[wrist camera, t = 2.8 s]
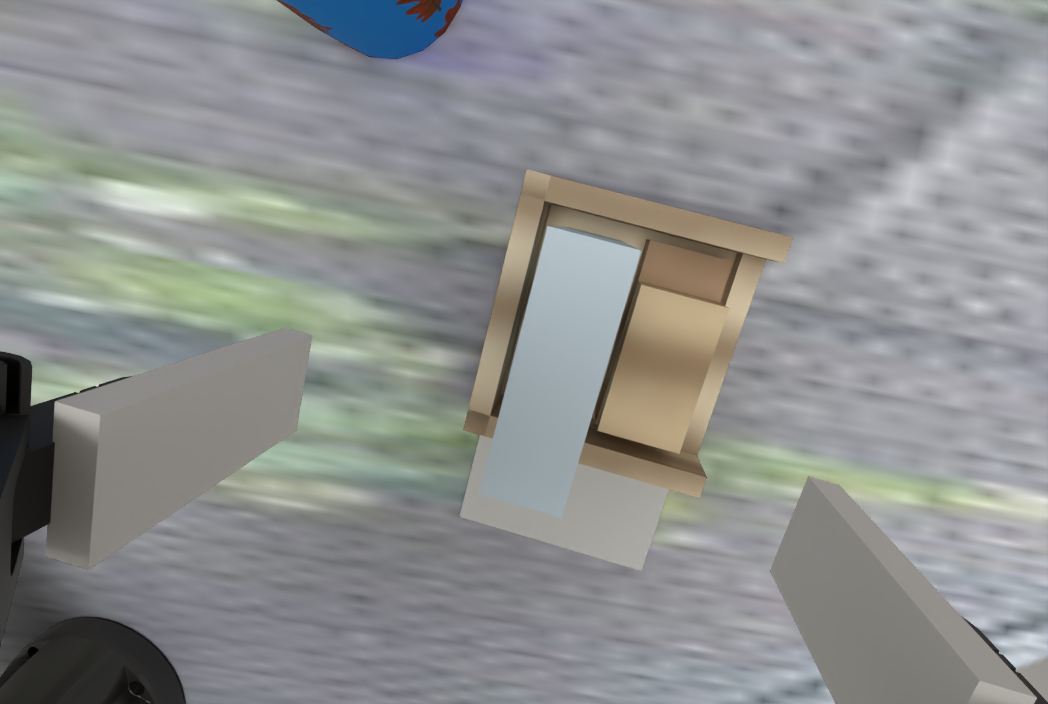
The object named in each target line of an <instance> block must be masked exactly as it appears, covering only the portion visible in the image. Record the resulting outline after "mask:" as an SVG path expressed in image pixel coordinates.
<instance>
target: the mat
mask: <svg viewBox="0 0 1048 704" xmlns="http://www.w3.org/2000/svg"><path fill="white" fill-rule="evenodd" d="M492 440H493V439H492V438H489V437H485V436H482V435H480V436H479V440H478V444H477V448H476V452H475V456H474V460H473V464H472V468H471V472H470V476H469V480H468V484H467V488H466V492H465V496H464V500H463V504H462V508H461V512H460V516H459V517H462V518H465V519H468V520H472V521H475V522H479V523H482V524H485V525H489V526H492V527H495V528H499V529H502V530H505V531H509V532H512V533H515V534H519V535H522V536H525V537H529V538H532V539H535V540H539V541H542V542H545V543H549V544H552V545H555V546H559V547H562V548H566V549H569V550H572V551H576V552H579V553H582V554H586V555H589V556H592V557H596V558H599V559H602V560H606V561H609V562H612V563H616V564H619V565H622V566H626V567H629V568H632V569H636V570H639V571H642V568H643V565H644V562H645V559H646V556H647V553H648V550H649V547H650V545H651V542H652V539H653V536H654V533H655V530H656V527H657V524H658V521H659V518H660V515H661V513H662V510H663V507H664V504H665V501H666V498H667V495H668V492H669V489H666V488H662V487H659V486H655V485H652V484H648V483H645V482H641V481H638V480H634V479H631V478H628V477H624V476H621V475H617V474H614V473H610V472H607V471H603V470H600V469H596V468H593V467H589V466H586V465H582V464H579V463H578V465H577V469H576V472H575V475H574V479H573V482H572V485H571V489H570V492H569V495H568V499H567V502H566V505H565V509H564V512H563V515H562V518H559V517H556V516H552V515H549V514H545V513H542V512H539V511H535V510H532V509H529V508H525V507H522V506H518V505H515V504H512V503H508V502H505V501H501V500H498V499H495V498H491V497H488V496H485V495H481V494H479V491H480V487H481V483H482V479H483V475H484V471H485V467H486V463H487V460H488V456H489V452H490V448H491V444H492Z"/></svg>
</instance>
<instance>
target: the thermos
mask: <svg viewBox="0 0 1048 704" xmlns="http://www.w3.org/2000/svg"><path fill="white" fill-rule="evenodd" d="M277 1H279V2H280V3H282V4H283V5H284V6H286V7H287V8H289V9H290V10H291V11H293V12H294V13H296V14H297V15H298V16H300V17H301V18H303V19H304V20H305V21H307V22H308V23H310V24H311V25H312V26H314V27H315V28H317V29H319V30H320V31H322V32H324V33H326V34H327V35H329V36H331V37H333V38H334V39H336V40H338V41H340V42H341V43H343V44H345V45H347V46H349V47H351V48H353V49H355V50H357V51H359V52H361V53H363V54H365V55H367V56H369V57H378V58H391V59H398V58H401V57H404V56H407V55H410V54H413V53H416V52H419V51H422V50H424V49H425V48H426V47H427V46H429V45H430V44H431V43H432V42H433V41H435V40H436V39H437V38H438V37H440V36H441V35H442V34H443V33H444V32H445V31H446V29H447V28H448V26H449V24H450V23H451V21H452V19H453V18H454V16H455V14H456V13H457V11H458V9H459V8H460V6H461V1H462V0H277Z"/></svg>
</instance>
